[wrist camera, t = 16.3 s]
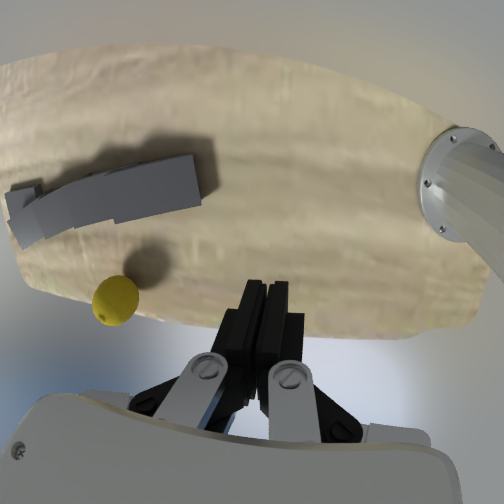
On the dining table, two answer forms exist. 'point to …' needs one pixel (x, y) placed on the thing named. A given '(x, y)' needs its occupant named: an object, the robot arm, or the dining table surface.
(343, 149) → the dining table surface
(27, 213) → the domino
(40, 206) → the domino
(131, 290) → the lemon
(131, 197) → the domino
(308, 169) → the dining table surface
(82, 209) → the domino
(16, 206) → the domino
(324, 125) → the dining table surface
